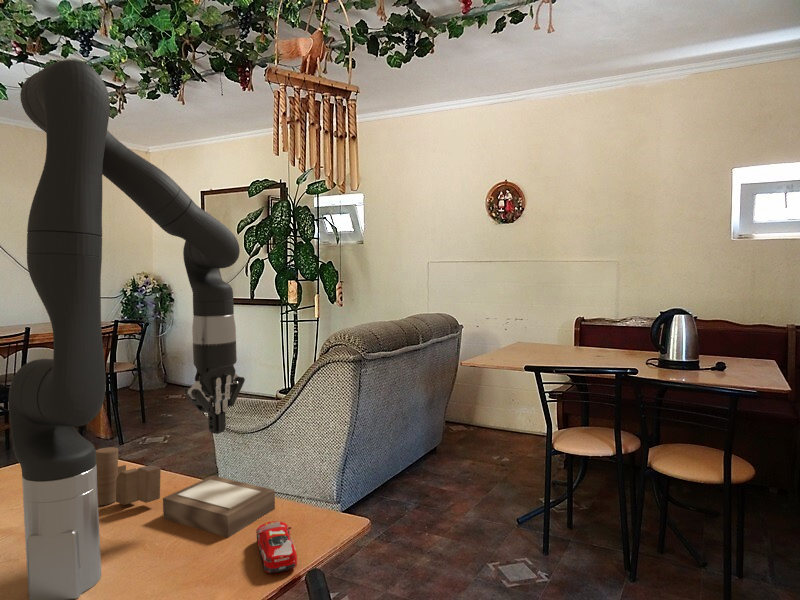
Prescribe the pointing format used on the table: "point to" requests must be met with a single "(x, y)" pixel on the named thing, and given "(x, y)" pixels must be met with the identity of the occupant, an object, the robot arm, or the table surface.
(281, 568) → the race car
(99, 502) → the wooden block set
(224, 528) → the picture frame
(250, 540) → the table surface
